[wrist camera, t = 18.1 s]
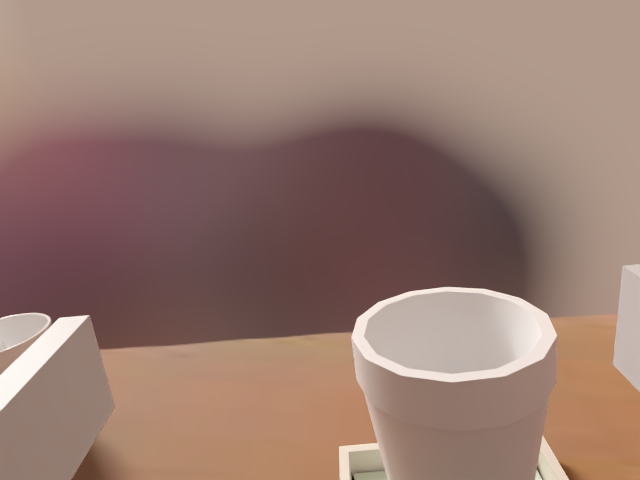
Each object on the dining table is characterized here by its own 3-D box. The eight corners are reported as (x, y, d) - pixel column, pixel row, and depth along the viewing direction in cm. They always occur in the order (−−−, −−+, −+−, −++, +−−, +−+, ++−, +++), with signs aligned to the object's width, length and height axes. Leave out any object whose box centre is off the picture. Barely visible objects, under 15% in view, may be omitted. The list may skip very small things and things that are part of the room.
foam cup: (385, 468, 34) (366, 289, 30) (534, 476, 32) (533, 283, 28) (368, 609, 25) (338, 381, 21) (573, 633, 23) (579, 383, 19)
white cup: (5, 490, 37) (-40, 371, 34) (-39, 457, 42) (-83, 349, 39) (101, 426, 43) (69, 320, 40) (53, 403, 48) (21, 307, 45)
